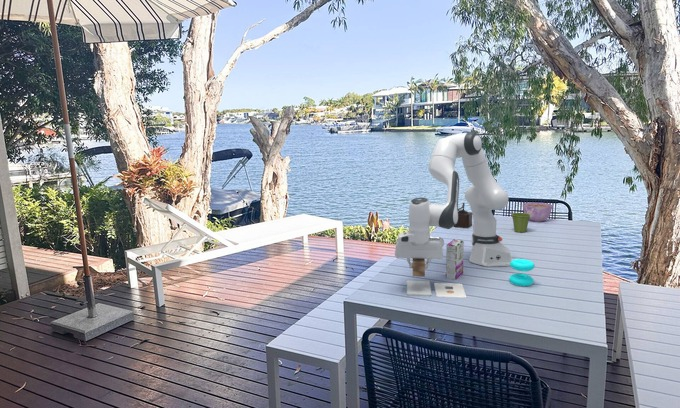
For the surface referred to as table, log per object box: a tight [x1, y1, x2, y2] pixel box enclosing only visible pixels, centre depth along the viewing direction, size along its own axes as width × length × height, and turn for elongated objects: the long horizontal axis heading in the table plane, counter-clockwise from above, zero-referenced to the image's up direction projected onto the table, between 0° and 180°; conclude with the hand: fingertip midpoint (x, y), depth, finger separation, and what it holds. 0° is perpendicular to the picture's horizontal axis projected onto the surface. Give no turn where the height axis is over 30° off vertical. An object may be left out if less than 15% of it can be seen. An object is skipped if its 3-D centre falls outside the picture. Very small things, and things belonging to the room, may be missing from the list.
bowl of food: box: [522, 201, 554, 223], centre depth 317 cm, size 20×20×12 cm
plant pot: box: [511, 212, 531, 233], centre depth 286 cm, size 12×12×11 cm
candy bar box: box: [445, 238, 465, 280], centre depth 205 cm, size 11×5×16 cm, turn 148°
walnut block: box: [411, 258, 426, 278], centre depth 188 cm, size 5×10×6 cm, turn 171°
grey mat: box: [406, 280, 433, 297], centre depth 190 cm, size 10×16×1 cm, turn 172°
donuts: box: [508, 258, 536, 287], centre depth 194 cm, size 10×10×10 cm
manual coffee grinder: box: [454, 202, 473, 229], centre depth 302 cm, size 16×11×18 cm
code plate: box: [433, 282, 467, 298], centre depth 188 cm, size 12×16×1 cm
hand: (418, 267), depth 189 cm, fingers closed on walnut block, 5 cm apart
